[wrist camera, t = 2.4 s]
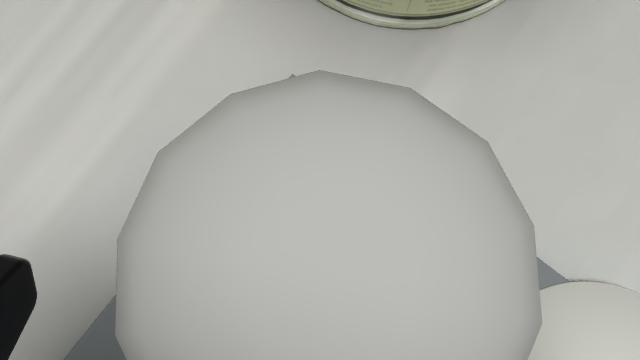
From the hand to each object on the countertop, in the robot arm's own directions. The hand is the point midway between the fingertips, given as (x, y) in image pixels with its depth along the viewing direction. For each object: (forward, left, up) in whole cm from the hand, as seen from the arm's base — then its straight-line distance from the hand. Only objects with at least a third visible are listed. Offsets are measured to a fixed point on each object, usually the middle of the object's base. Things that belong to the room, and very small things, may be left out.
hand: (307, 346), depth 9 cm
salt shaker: (+1, +1, -9) cm, 9 cm away
